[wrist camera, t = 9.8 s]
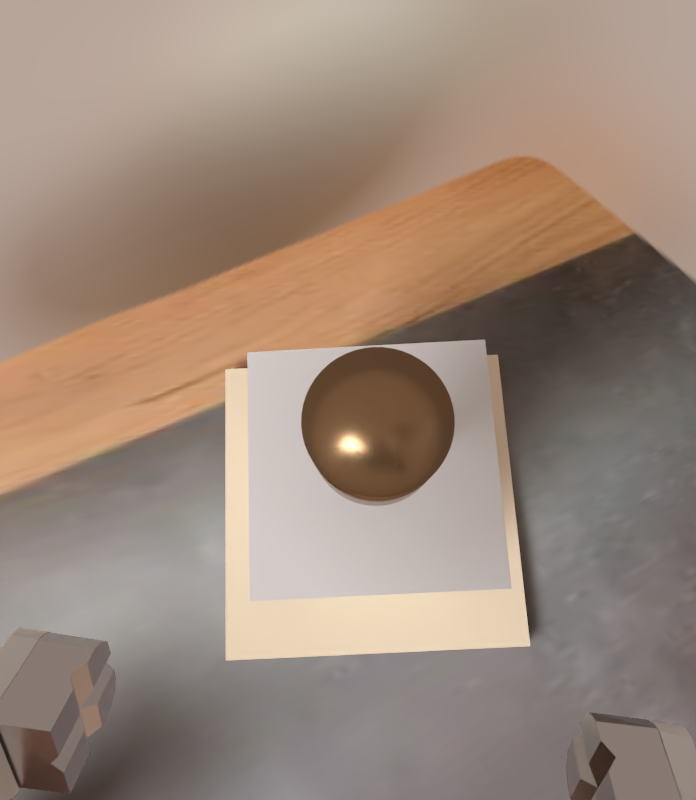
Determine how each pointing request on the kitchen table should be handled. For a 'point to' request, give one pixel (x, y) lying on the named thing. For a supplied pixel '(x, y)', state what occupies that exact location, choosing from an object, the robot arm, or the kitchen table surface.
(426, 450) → the plunger
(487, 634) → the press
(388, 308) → the kitchen table surface
